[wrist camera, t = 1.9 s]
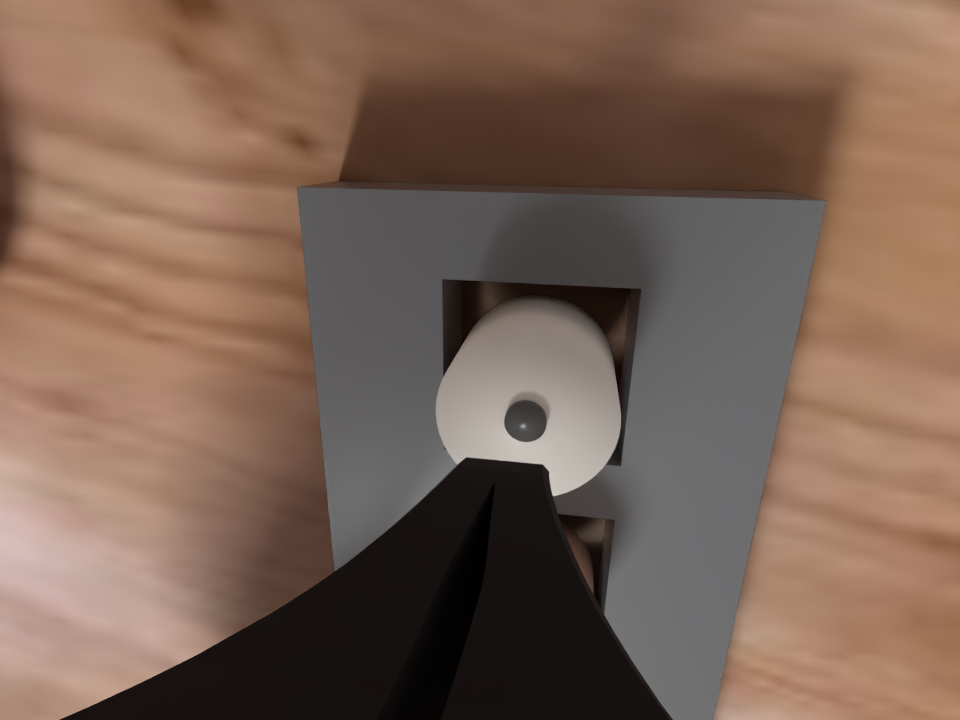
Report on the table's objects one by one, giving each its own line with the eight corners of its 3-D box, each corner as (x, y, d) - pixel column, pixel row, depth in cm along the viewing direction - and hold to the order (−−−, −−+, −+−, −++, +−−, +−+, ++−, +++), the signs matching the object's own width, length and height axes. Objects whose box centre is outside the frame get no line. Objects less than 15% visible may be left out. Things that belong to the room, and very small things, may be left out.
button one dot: (606, 442, 16) (611, 512, 13) (461, 429, 16) (435, 493, 13) (620, 299, 14) (631, 340, 11) (462, 290, 15) (432, 327, 12)
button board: (672, 778, 22) (683, 851, 20) (377, 727, 24) (355, 790, 22) (787, 191, 14) (826, 200, 12) (337, 180, 16) (297, 187, 14)
